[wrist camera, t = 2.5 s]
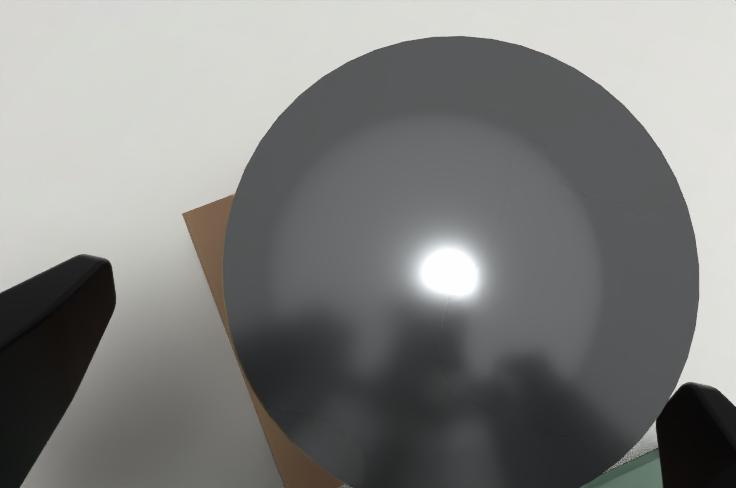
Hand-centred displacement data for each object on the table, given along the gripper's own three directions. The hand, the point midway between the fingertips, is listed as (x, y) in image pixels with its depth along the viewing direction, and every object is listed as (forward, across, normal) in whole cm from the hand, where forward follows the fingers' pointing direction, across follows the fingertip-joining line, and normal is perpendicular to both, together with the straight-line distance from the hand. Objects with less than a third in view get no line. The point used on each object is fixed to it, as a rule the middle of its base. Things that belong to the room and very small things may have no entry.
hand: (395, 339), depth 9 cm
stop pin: (+7, 0, +6) cm, 9 cm away
